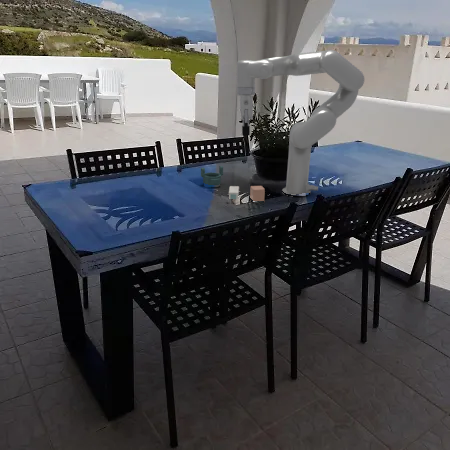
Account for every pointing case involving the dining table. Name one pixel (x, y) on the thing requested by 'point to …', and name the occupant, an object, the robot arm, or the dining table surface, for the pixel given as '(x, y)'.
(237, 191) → the cream block
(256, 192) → the terracotta block
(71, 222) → the dining table surface
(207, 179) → the green basket
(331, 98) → the robot arm
